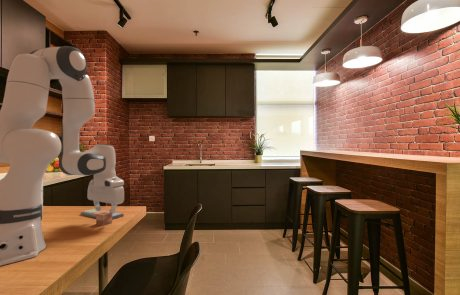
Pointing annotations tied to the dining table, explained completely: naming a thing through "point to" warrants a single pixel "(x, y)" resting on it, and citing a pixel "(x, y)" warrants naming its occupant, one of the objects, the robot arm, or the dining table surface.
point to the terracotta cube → (103, 218)
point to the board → (93, 212)
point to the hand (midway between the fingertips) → (105, 211)
